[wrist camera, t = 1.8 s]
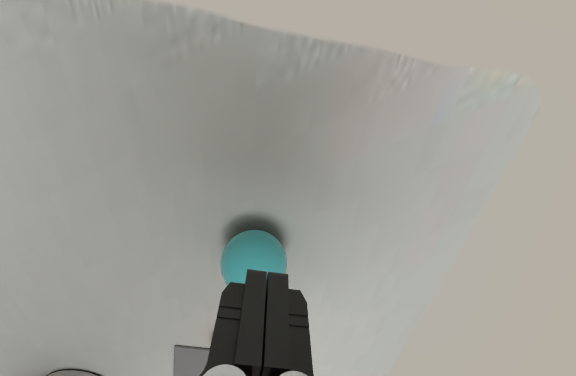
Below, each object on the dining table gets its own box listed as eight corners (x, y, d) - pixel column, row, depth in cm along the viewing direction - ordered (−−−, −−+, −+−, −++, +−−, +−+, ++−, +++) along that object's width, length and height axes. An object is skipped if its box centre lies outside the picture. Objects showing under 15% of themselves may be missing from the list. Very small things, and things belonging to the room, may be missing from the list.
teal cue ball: (252, 273, 31) (246, 321, 26) (213, 237, 29) (199, 282, 24) (298, 246, 29) (301, 292, 25) (261, 206, 27) (256, 247, 22)
